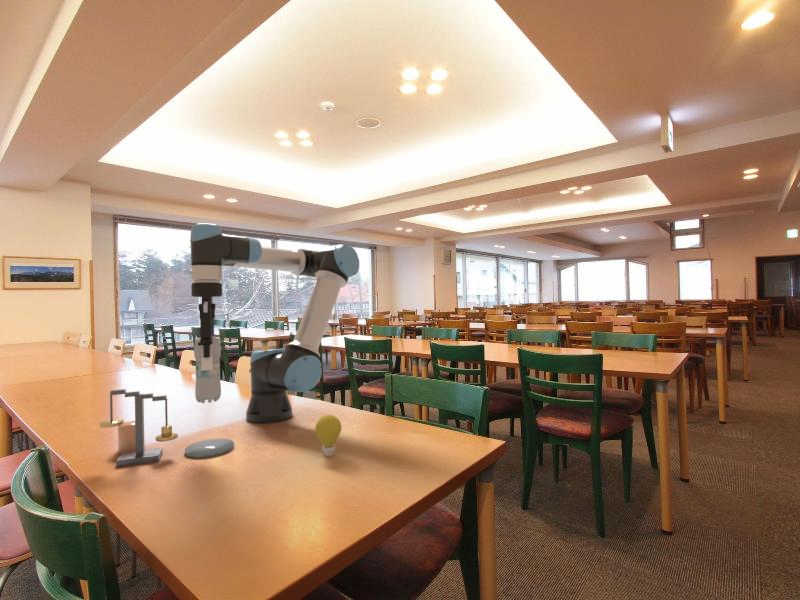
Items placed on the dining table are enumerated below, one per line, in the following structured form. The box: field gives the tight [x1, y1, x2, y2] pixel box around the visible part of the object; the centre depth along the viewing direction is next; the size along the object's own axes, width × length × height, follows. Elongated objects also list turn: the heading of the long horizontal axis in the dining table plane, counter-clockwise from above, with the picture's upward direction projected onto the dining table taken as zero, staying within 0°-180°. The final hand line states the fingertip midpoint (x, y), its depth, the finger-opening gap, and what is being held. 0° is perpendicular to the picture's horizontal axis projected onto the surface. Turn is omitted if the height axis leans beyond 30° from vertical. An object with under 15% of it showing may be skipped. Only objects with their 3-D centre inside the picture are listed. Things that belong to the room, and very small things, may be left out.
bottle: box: [193, 328, 222, 404], centre depth 113 cm, size 7×7×20 cm
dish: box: [184, 438, 235, 459], centre depth 113 cm, size 12×12×1 cm
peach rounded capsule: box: [117, 420, 136, 454], centre depth 114 cm, size 6×6×7 cm
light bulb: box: [314, 414, 342, 457], centre depth 108 cm, size 7×7×10 cm
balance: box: [98, 388, 179, 468], centre depth 106 cm, size 17×6×18 cm, turn 111°
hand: (208, 367), depth 113 cm, fingers closed on bottle, 7 cm apart
